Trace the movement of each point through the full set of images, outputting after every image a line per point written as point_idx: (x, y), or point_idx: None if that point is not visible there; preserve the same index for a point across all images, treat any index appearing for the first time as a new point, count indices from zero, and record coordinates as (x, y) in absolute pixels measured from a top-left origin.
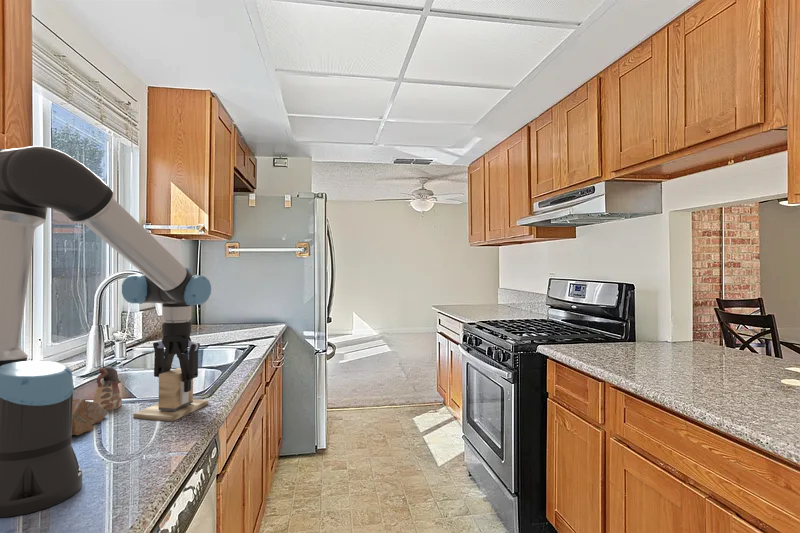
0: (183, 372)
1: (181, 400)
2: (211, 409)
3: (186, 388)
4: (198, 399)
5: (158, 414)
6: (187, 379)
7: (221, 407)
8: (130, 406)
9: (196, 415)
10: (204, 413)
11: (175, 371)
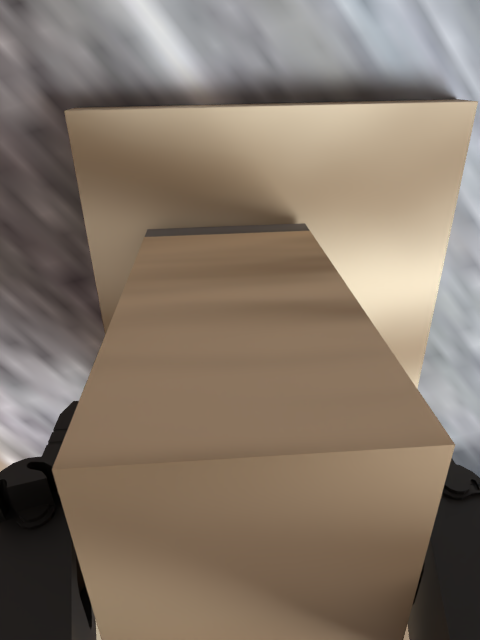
0: (27, 619)
1: None
2: (34, 413)
3: None
4: None
5: (240, 140)
6: (9, 519)
7: (8, 457)
8: None
9: (20, 289)
10: (5, 339)
11: (277, 636)
